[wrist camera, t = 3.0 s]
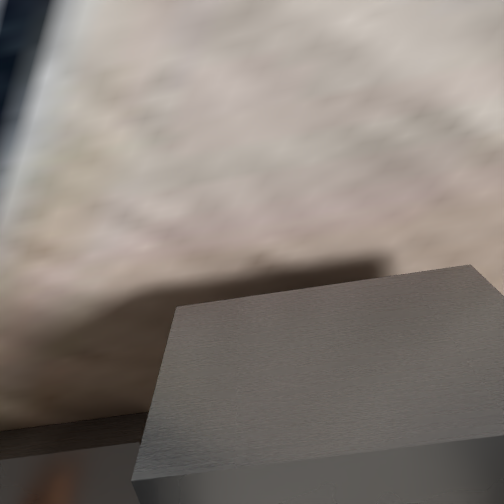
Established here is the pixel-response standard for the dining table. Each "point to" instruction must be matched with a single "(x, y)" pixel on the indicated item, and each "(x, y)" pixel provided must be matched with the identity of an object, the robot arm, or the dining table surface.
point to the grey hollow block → (332, 396)
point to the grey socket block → (72, 462)
